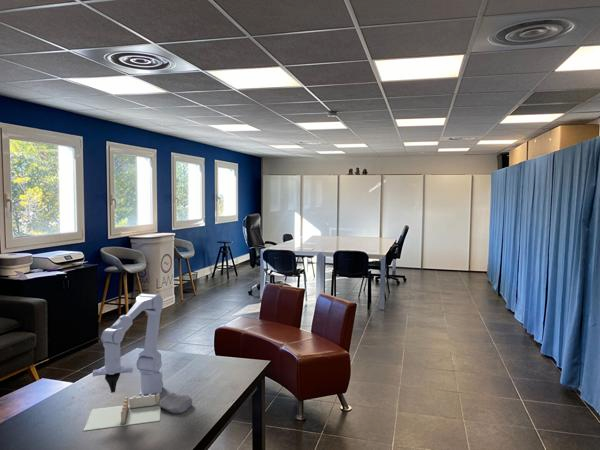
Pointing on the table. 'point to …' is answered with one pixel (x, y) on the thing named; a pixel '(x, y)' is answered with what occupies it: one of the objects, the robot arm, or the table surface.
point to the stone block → (176, 403)
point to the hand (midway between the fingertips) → (113, 391)
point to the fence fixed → (143, 400)
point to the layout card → (113, 416)
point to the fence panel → (124, 412)
